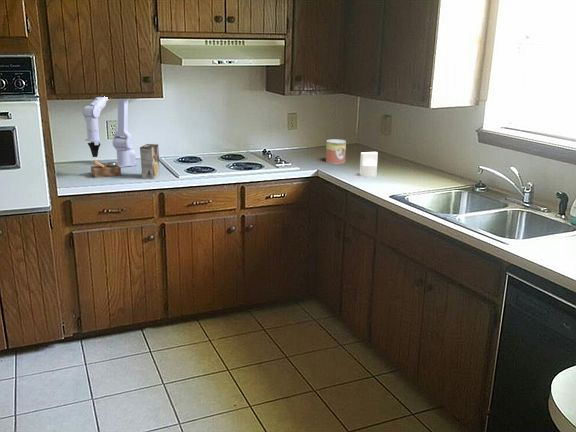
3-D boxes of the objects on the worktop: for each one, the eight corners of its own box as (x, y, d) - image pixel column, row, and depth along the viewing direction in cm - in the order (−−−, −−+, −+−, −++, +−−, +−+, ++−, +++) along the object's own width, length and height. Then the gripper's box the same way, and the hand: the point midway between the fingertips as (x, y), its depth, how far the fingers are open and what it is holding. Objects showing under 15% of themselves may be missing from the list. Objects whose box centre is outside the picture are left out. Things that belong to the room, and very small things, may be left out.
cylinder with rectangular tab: (363, 177, 309) (364, 154, 306) (356, 173, 317) (358, 151, 314) (379, 176, 312) (380, 154, 308) (372, 172, 320) (373, 150, 316)
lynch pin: (116, 171, 311) (115, 161, 310) (118, 173, 307) (117, 163, 305) (106, 172, 309) (105, 162, 307) (108, 174, 305) (107, 163, 303)
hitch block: (116, 171, 314) (116, 163, 313) (121, 175, 305) (120, 167, 304) (91, 173, 308) (90, 166, 307) (95, 177, 300) (94, 170, 298)
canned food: (332, 164, 337) (333, 143, 334) (321, 160, 347) (322, 140, 343) (349, 162, 343) (350, 141, 339) (337, 158, 352) (338, 138, 348)
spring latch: (102, 165, 306) (102, 164, 306) (103, 167, 303) (104, 166, 303) (93, 161, 304) (93, 159, 304) (94, 162, 300) (95, 161, 300)
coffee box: (148, 174, 309) (146, 143, 304) (160, 174, 308) (158, 144, 303) (141, 178, 300) (139, 147, 295) (153, 179, 299) (151, 147, 294)
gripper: (81, 128, 302) (84, 154, 306) (87, 132, 290) (89, 160, 294) (96, 127, 305) (98, 153, 309) (102, 132, 293) (104, 159, 297)
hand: (95, 156), depth 302 cm, fingers closed
